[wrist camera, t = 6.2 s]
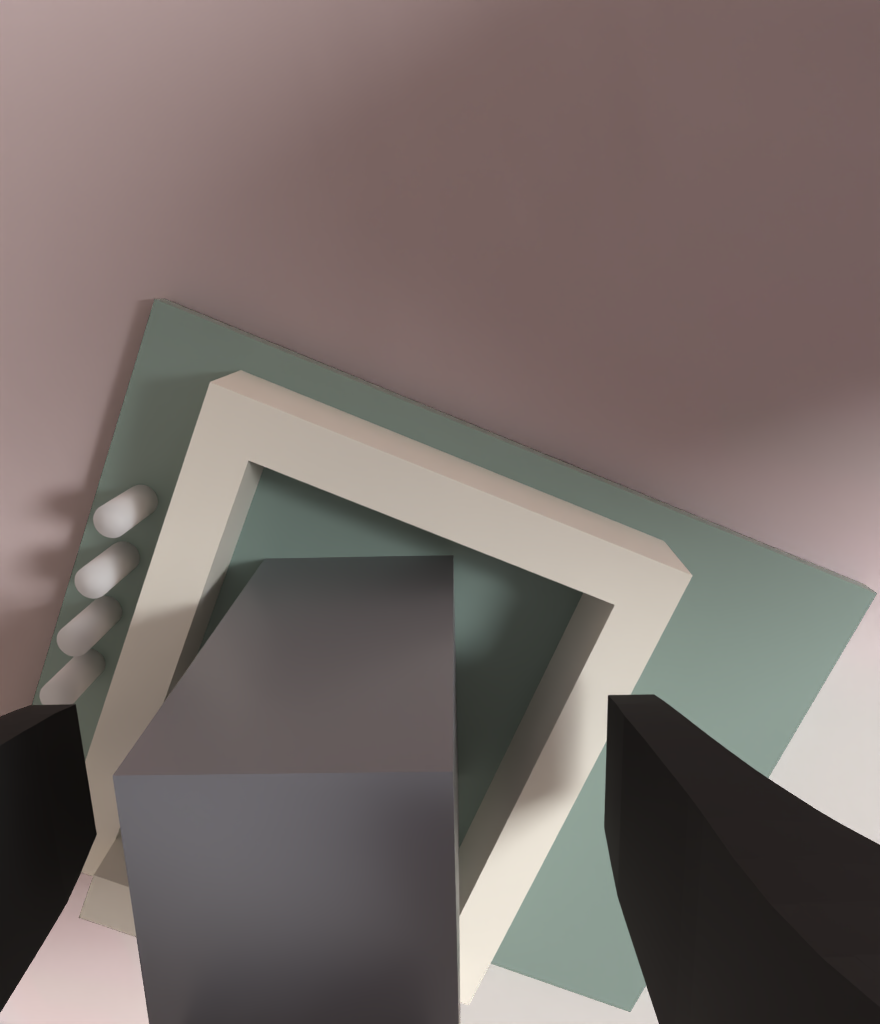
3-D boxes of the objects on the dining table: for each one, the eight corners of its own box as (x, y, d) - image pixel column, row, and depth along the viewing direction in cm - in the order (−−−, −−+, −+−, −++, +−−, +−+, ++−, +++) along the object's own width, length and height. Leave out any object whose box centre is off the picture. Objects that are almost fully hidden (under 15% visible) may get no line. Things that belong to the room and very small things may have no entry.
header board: (865, 584, 13) (969, 660, 11) (625, 994, 16) (661, 1142, 13) (163, 298, 12) (82, 301, 10) (16, 780, 15) (-83, 892, 12)
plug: (453, 555, 13) (453, 847, 6) (458, 777, 14) (461, 1232, 7) (264, 558, 13) (58, 851, 6) (283, 779, 14) (125, 1233, 7)
